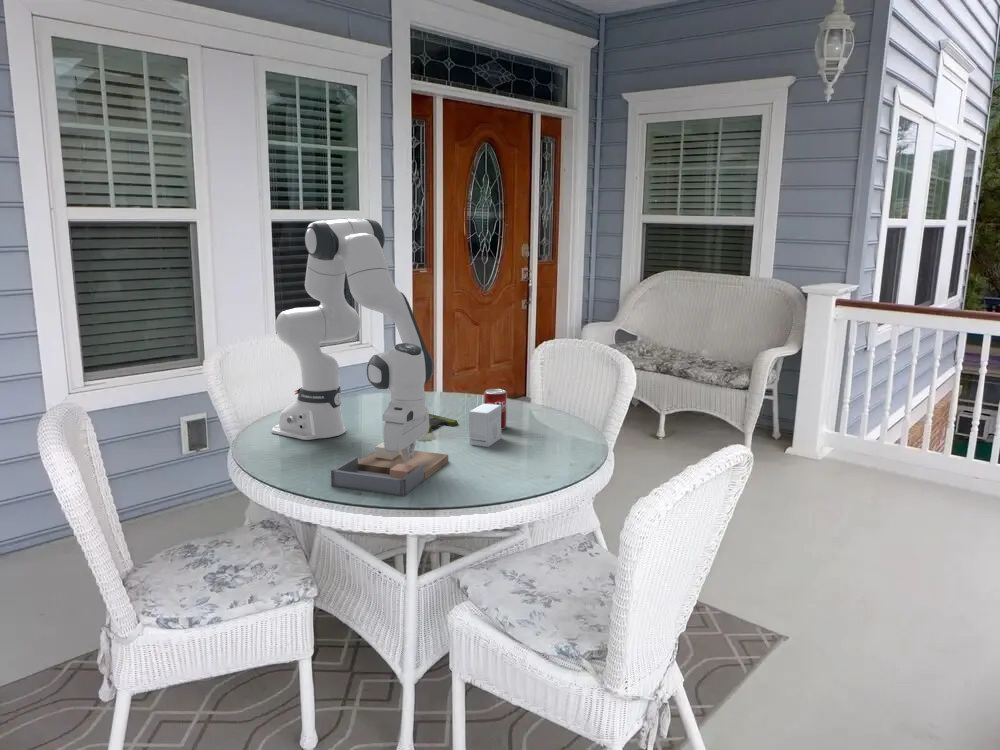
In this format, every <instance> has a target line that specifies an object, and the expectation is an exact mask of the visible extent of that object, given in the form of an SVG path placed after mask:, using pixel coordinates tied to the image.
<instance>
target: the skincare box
mask: <svg viewBox="0 0 1000 750" xmlns="http://www.w3.org/2000/svg"><path fill="white" fill-rule="evenodd" d="M468 413H469V414H468V415H469V416H468V419H469V426H468V427H469V430H468V431H469V432H468V433H469V445H470V446H478V447H484V448H485V447H486V448H489V447H490V446H492V445H493V444H495V443H496V442H498V441H499V440H500V439H501V438H502V430H501V405H493V404H484V403H482V404H480V405H479V406H477V407H475V408H473V409H471V410H469V412H468Z"/></svg>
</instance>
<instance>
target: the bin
mask: <svg viewBox="0 0 1000 750" xmlns="http://www.w3.org/2000/svg"><path fill="white" fill-rule="evenodd" d="M358 458H359V457H358V456H353V457H352V458H350V459H348V460H347V461H345V462H343V463H341V464H340V465H338V466H337V467H335V468H333V469H331V470H330V486H331V487H336V488H342V489H350V490H357V491H364V492H369V493H370V492H371V493H378V494H384V495H392V496H397V497H406V496H407V495H408V494H409V493H410V492H411V491H413V490H414V489H415V488H417V487H418V486H419V485H421V483H423V482H424V481H425V480H424V466H421V465H420V466H419V467H418V468H416V469H415V470H413V471H412V472H411V473H409V474H408V475H407V476H405V477H404V478H403V479H398V478H391V477H390V474H385V473H377V472H370V471H363V470H358V462H359V459H358Z"/></svg>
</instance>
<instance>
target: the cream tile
mask: <svg viewBox="0 0 1000 750" xmlns="http://www.w3.org/2000/svg"><path fill="white" fill-rule="evenodd" d="M374 450H375V451H374V452H375V457H376V458H384V459H394V458H395V457H397V456H398V455H400V452H399V453H392V452H387V451H386V450H385V447H384V441H382V442H381V443H379V444H378V445H376V446H374Z"/></svg>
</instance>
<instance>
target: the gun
mask: <svg viewBox="0 0 1000 750" xmlns="http://www.w3.org/2000/svg"><path fill="white" fill-rule="evenodd" d="M457 425H459V421H458V420H456V419H452V418H448V417H446V416H444V417H443V416H439V415H436V414H431V413H429V431H428V433H429V432H432V431H433V430H434V431H435V430H436V429H438V428H439V426H451V427H455V426H457Z"/></svg>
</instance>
